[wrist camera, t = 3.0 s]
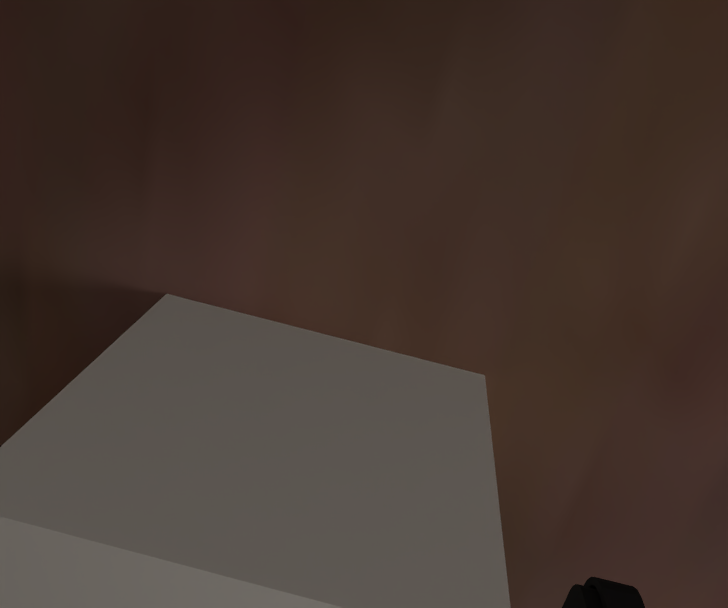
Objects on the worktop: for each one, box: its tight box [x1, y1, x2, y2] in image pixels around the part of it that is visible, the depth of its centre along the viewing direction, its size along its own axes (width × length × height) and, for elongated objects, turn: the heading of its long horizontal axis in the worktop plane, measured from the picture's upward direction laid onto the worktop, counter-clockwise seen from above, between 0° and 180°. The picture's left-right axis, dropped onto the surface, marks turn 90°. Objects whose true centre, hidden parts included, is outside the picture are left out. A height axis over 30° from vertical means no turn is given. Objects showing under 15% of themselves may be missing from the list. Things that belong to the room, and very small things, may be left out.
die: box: [0, 294, 510, 608], centre depth 9 cm, size 5×5×5 cm
